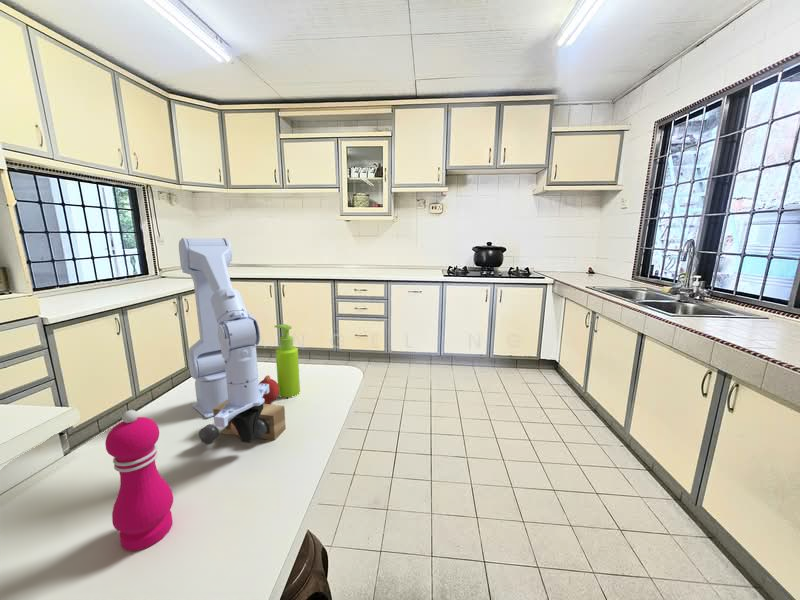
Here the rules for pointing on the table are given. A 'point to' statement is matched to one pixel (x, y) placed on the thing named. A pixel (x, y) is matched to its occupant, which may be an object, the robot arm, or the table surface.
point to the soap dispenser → (287, 364)
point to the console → (269, 412)
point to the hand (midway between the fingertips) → (247, 440)
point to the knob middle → (234, 429)
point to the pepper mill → (139, 483)
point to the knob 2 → (262, 427)
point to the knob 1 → (210, 433)
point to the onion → (270, 390)
